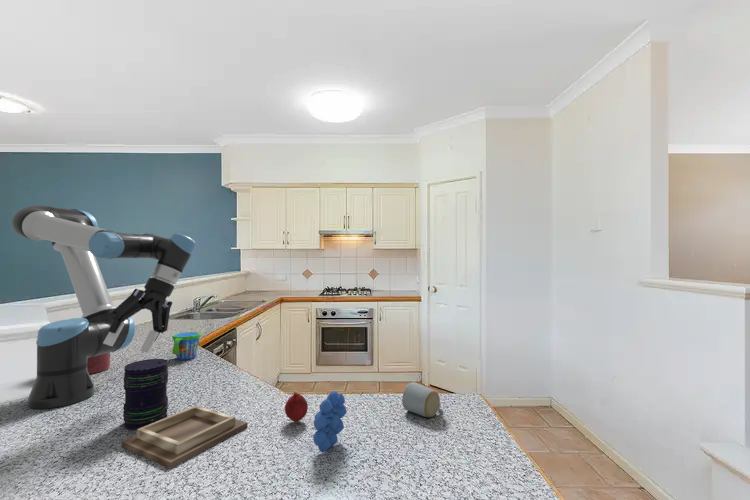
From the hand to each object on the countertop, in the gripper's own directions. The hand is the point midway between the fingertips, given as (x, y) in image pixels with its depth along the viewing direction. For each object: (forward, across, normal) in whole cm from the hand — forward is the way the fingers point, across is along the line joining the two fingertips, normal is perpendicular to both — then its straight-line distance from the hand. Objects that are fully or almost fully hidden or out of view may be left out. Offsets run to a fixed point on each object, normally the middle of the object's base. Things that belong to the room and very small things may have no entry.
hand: (127, 348), depth 105 cm
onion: (+3, +4, -55) cm, 56 cm away
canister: (+15, +30, +39) cm, 51 cm away
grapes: (+4, -5, -67) cm, 68 cm away
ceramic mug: (-9, +15, -86) cm, 87 cm away
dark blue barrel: (+15, -2, -18) cm, 23 cm away
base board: (+12, -6, -34) cm, 37 cm away
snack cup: (+2, +50, +16) cm, 52 cm away
